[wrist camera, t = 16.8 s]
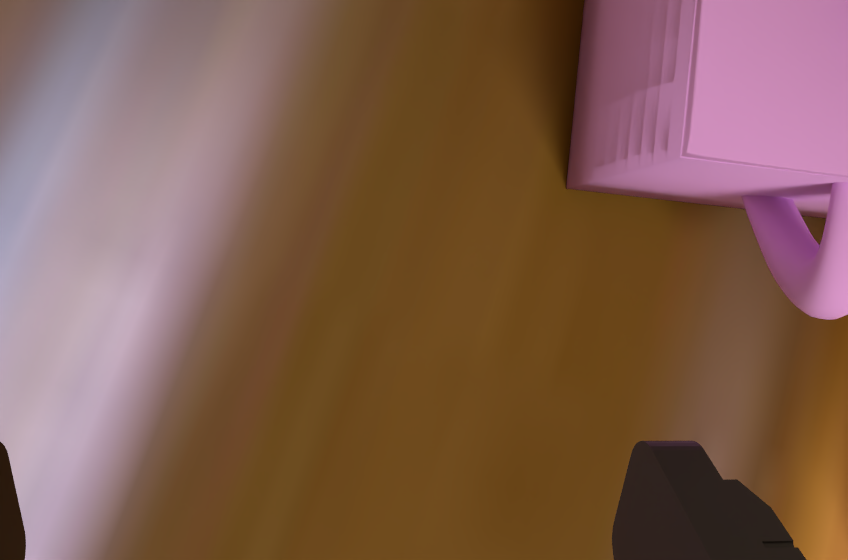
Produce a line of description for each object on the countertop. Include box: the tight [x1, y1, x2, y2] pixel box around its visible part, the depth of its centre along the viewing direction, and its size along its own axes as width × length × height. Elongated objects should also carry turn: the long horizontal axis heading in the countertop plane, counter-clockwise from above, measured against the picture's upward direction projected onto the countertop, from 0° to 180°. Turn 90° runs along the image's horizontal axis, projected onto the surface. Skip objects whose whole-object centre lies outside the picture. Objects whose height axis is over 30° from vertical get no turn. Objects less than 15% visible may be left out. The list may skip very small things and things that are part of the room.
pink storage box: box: [566, 0, 848, 320], centre depth 31 cm, size 15×25×14 cm, turn 174°
